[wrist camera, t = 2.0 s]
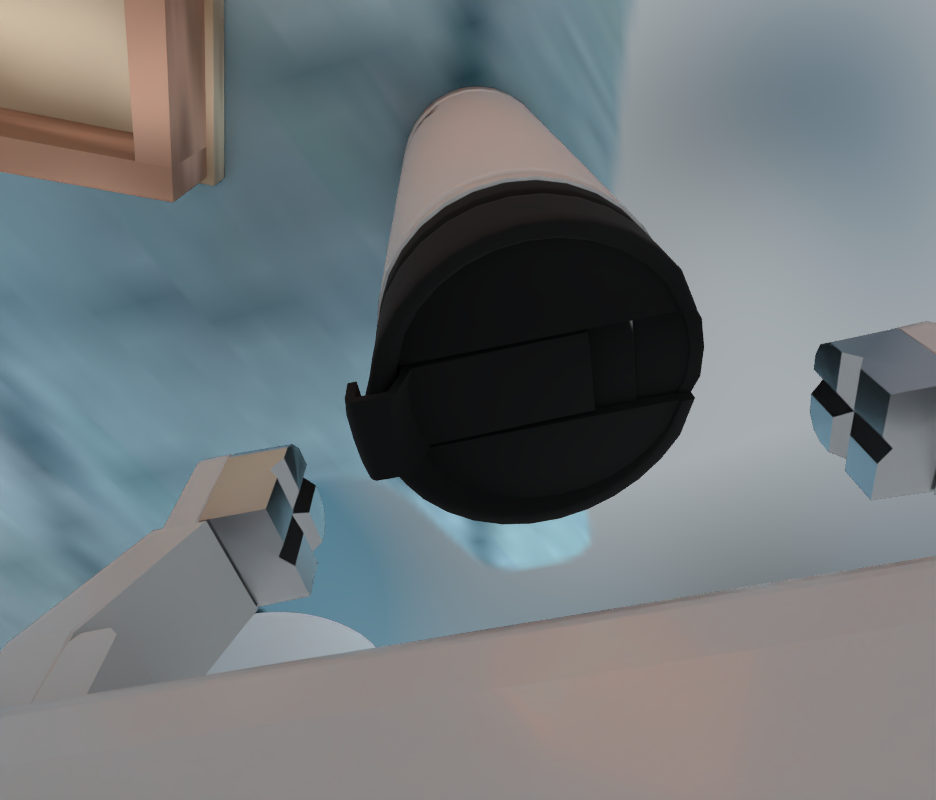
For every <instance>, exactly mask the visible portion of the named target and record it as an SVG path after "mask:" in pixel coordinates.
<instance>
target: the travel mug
mask: <svg viewBox="0 0 936 800" xmlns="http://www.w3.org/2000/svg"><path fill="white" fill-rule="evenodd" d="M703 351H704V341H703V330H702V318H701V316H700V315H699V313H698V311H697V308H696V305H695V303H694V300H693V297H692V295H691V292H690V290H689V287H688V285H687V282H686V280H685V277H684V275H683V272H682V270H681V269H680V267H679V266H677V265H676V264H675V262H673V260H672V259H671V258H670V257H669V256H668V255H667V254H666V253H665V252H664V251H663V250H662V249H661V248H660V247H659V246H658V245H657V244H656V243H655V242H654V241H653V240H652V239H651V237H650V236H649V234H648V232H647V231H646V229H645V228H644V226H643V225H642V224H641V223H640V222H639V221H638V220H637V219H636V218H635V217H634V216H633V215H632V214H631V213H630V212H629V211H628V210H627V209H626V208H625V207H624V206H623V205H622V204H621V203H620V202H619V201H618V200H617V199H616V198H615V197H614V196H613V195H612V193H611V192H610V191H609V190H608V189H607V188H606V187H605V186H604V185H603V184H602V183H601V182H600V181H599V180H598V179H597V178H596V177H595V176H594V175H593V174H592V173H591V172H590V171H589V170H588V169H587V168H586V167H585V166H584V165H583V164H582V163H581V162H580V161H579V160H578V159H577V158H576V157H575V156H574V155H573V154H572V153H571V152H570V151H569V150H568V149H567V148H566V147H565V146H564V145H563V144H562V143H561V142H560V141H559V140H558V139H557V138H556V137H555V136H554V135H553V134H552V133H551V132H550V131H549V130H548V129H547V128H546V127H545V126H544V125H543V124H542V123H541V122H540V121H539V120H538V119H537V118H536V117H535V116H534V115H533V114H532V113H531V112H530V111H529V110H528V109H527V108H526V107H525V106H524V105H523V104H522V103H521V102H520V101H519V100H517V99H516V98H514V97H513V96H511V95H509V94H508V93H505V92H503V91H500V90H497V89H494V88H489V87H481V86H475V87H464V88H461V89H457V90H454V91H451V92H448V93H447V94H445V95H443V96H441V97H440V98H438V99H436V100H435V101H434V102H433V103H432V104H431V105H429V106H428V107H427V108H426V109H425V110H424V111H423V113H422V114H421V115H420V117H419V118H418V119H417V121H416V122H415V124H414V126H413V128H412V130H411V132H410V134H409V137H408V141H407V145H406V149H405V154H404V160H403V165H402V171H401V177H400V182H399V188H398V193H397V199H396V205H395V210H394V216H393V222H392V227H391V233H390V239H389V244H388V250H387V256H386V261H385V267H384V272H383V278H382V284H381V291H380V295H379V301H378V320H377V331H376V340H375V347H374V352H373V357H372V364H371V371H370V377H369V381H368V386H367V391H366V395H365V396H361V394H360V391H359V388H358V385H357V382H352V383H348V385H347V390H346V395H345V404H346V414H347V418H348V421H349V425H350V428H351V431H352V435H353V438H354V441H355V444H356V446H357V449H358V452H359V455H360V457H361V460H362V462H363V464H364V466H365V468H366V470H367V472H368V473H369V475H370V477H371V478H372V479H373V480H376V481H377V480H383V479H389V478H395V477H400V478H401V479H402V480H403V481H404V482H405V483H406V484H407V485H408V486H409V487H410V488H411V489H412V490H414V491H415V492H416V493H417V494H418V495H420V496H421V497H422V498H423V499H425V500H427V501H428V502H430V503H432V504H434V505H436V506H438V507H439V508H441V509H443V510H445V511H447V512H449V513H453V514H456V515H459V516H462V517H465V518H468V519H471V520H475V521H482V522H490V523H497V524H529V523H536V522H542V521H547V520H553V519H559V518H562V517H565V516H568V515H571V514H574V513H577V512H580V511H583V510H586V509H589V508H591V507H593V506H595V505H597V504H599V503H601V502H603V501H605V500H607V499H609V498H611V497H613V496H615V495H616V494H617V493H619V492H620V491H622V490H623V489H625V488H626V487H628V486H629V485H631V484H632V483H633V482H635V481H637V480H638V479H639V478H640V477H641V476H643V475H644V474H645V473H646V472H647V471H648V470H649V469H650V468H651V467H652V466H653V465H654V464H656V463H657V462H658V461H659V460H660V459H661V458H662V457H663V455H664V454H665V453H666V451H667V450H668V449H669V448H670V447H671V445H672V444H673V443H674V442H675V440H676V439H677V438H678V436H679V435H680V433H681V431H682V428H683V426H684V423H685V421H686V418H687V416H688V413H689V411H690V408H691V406H692V403H693V401H694V398H695V397H694V396H693V394H692V393H691V391H692V389H693V387H694V385H695V384H696V382H697V380H698V378H699V377H700V373H701V365H702V358H703Z"/></svg>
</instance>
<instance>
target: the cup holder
mask: <svg viewBox="0 0 936 800" xmlns="http://www.w3.org/2000/svg"><path fill="white" fill-rule="evenodd" d="M0 172H5V173H11V174H16V175H22V176H27V177H33V178H39V179H44V180H50V181H56V182H61V183H67V184H73V185H78V186H84V187H89V188H95V189H101V190H106V191H112V192H118V193H123V194H129V195H134V196H140V197H146V198H151V199H157V200H163V201H168V202H174V201H176V200H177V199H178V198H180V197H181V196H182V195H184V194H185V193H186V192H188V191H189V190H190V189H192V188H193V187H194V186H196V185H197V184H198V183H201V184H207V185H212V186H215V185H216V184H217V183H219V182H220V181H221V180H222V179H224V0H0Z"/></svg>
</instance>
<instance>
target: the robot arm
mask: <svg viewBox="0 0 936 800" xmlns="http://www.w3.org/2000/svg"><path fill="white" fill-rule="evenodd" d="M814 370H815V371H816V372H817V373H818V374H819V376H820V377H821V378H822V379H823V380H822V381H821V383H820V384H819V385H818V386H817V388H816V389H815V390H814V391H813V392H812V394H811V405H810V414H811V419H812V423H813V428H814V431H815V433H816V435H817V437H818V439H819V441H820V442H821V443H822V444H823V446H824V447H825V448H826V449H827V451H828V452H830V453H832V454H835V455H838V456H840V457H843V458H845V459H846V467H845V471H846V473H847V474H848V475H849V476H850V477H851V478H852V480H854V482H855V483H856V484H857V485H858V486H859V488H860V489H861V490H862V491H863V492H864V493H865V494H866V496H867V497H868V498H869V499H870V500H878V499H885V498H892V497H898V496H905V495H911V494H919V493H926V492H933V491H934V494H935V495H936V323H935V322H929V321H925V322H920V323H916V324H911V325H907V326H903V327H898V328H894V329H890V330H886V331H881V332H877V333H872V334H868V335H863V336H858V337H853V338H849V339H844V340H839V341H835V342H830V343H825V344H821V345H820V346H819V349H818V351H817V353H816V356H815V364H814ZM306 465H307V464H306V462H305V460H304V458H303V456H302V454H301V452H300V450H299V448H298V447H296V446H295V445H293V444H290V445H284V446H278V447H272V448H266V449H260V450H255V451H249V452H243V453H237V454H234V455H225V456H220V457H215V458H210V459H205V460H203V461H201V462H199V463H198V464H197V466H196V468H195V469H194V471H193V473H192V475H191V477H190V479H189V481H188V483H187V484H186V486H185V488H184V490H183V492H182V494H181V496H180V497H179V499H178V501H177V503H176V505H175V507H174V509H173V511H172V512H171V514H170V516H169V518H168V520H167V522H166V524H165V525H164V527H163V529H158V530H153V531H152V532H151V533H149V534H148V535H147V536H145V537H144V538H143V539H141V540H140V541H139V542H138V543H136V544H135V545H134V546H132V547H131V548H130V549H128V550H127V551H126V552H125V553H123V554H122V555H121V556H119V557H118V558H117V559H115V560H114V561H113V562H112V563H110V564H109V565H108V566H106V567H105V568H104V569H102V570H101V571H100V572H99V573H97V574H96V575H95V576H93V577H92V578H91V579H89V580H88V581H87V582H86V583H84V584H83V585H82V586H80V587H79V588H78V589H76V590H75V591H74V592H73V593H71V594H70V595H69V596H67V597H66V598H65V599H63V600H62V601H61V602H60V603H58V604H57V605H56V606H54V607H53V608H52V609H50V610H49V611H48V612H47V613H45V614H44V615H43V616H41V617H40V618H39V619H38V620H36V621H35V622H34V623H32V624H31V625H30V626H28V627H27V628H26V629H25V630H23V631H22V632H21V633H19V634H18V635H17V636H15V637H14V638H13V639H12V640H10V641H9V642H8V643H7V644H6V645H5V647H4V648H3V650H2V651H1V653H0V800H936V556H932V557H926V558H920V559H914V560H908V561H902V562H895V563H889V564H883V565H877V566H871V567H865V568H859V569H852V570H846V571H840V572H834V573H828V574H821V575H816V576H810V577H803V578H797V579H791V580H785V581H778V582H772V583H766V584H760V585H753V586H747V587H741V588H735V589H729V590H723V591H716V592H711V593H704V594H698V595H692V596H686V597H680V598H674V599H668V600H662V601H656V602H650V603H643V604H638V605H631V606H625V607H619V608H613V609H607V610H601V611H596V612H589V613H583V614H577V615H570V616H565V617H558V618H552V619H546V620H540V621H534V622H528V623H522V624H517V625H510V626H504V627H498V628H492V629H485V630H480V631H473V632H467V633H461V634H455V635H449V636H443V637H437V638H430V639H425V640H418V641H412V642H406V643H400V644H393V645H387V646H381V647H375V645H373V644H372V643H371V642H370V641H369V640H368V639H366V638H365V637H364V636H363V635H361V634H360V633H358V632H356V631H355V630H353V629H351V628H349V627H347V626H345V625H342V624H340V623H338V622H335V621H332V620H329V619H326V618H322V617H318V616H314V615H309V614H302V613H294V612H264V613H255V612H256V611H257V607H259V606H264V605H269V604H274V603H279V602H284V601H289V600H294V599H299V598H304V597H309V596H310V595H311V590H312V586H313V581H314V577H315V572H316V568H317V564H318V563H317V561H316V559H315V556H314V554H313V551H314V550H315V549H316V548H317V547H318V546H319V545H320V544H321V543H322V541H323V536H324V531H325V517H324V508H323V504H322V500H321V497H320V494H319V492H318V490H317V487H316V485H314V484H313V483H311V482H309V481H308V480H306V479H305V478H303V476H304V472H305V469H306Z"/></svg>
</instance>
